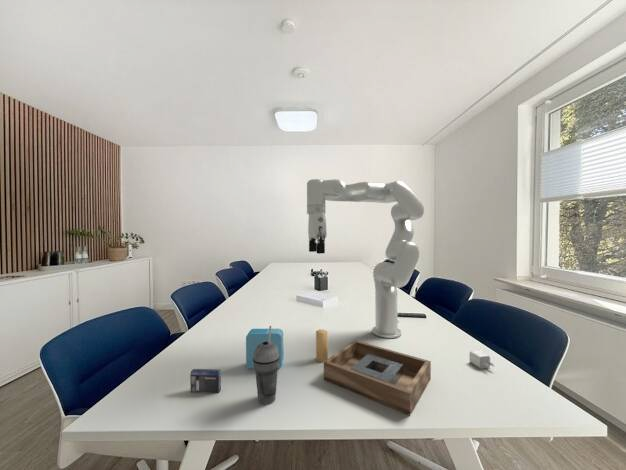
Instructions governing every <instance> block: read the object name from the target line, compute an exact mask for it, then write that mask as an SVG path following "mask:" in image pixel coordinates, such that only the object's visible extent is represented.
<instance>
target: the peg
mask: <svg viewBox="0 0 626 470" xmlns="http://www.w3.org/2000/svg"><path fill="white" fill-rule="evenodd" d="M315 346H316V347H315V355H316V356H315V357H316V358H315V360H316V361H317V362H319V363H324V362H325V361H326V360H327V359H329V358H328V330H326V329H318V330H316V331H315Z"/></svg>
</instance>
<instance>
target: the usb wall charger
mask: <svg viewBox="0 0 626 470" xmlns="http://www.w3.org/2000/svg"><path fill="white" fill-rule="evenodd" d="M469 362H470V364H473V365H474V366H476V367H477V368H479V369H481V370H482V369H489V368H490V367H493V368H495V364H493V363H492V362H491V357H490V355H488V354H486V353H484V352H482V351H480V350H478V349H476V350H470V351H469Z"/></svg>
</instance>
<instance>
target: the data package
mask: <svg viewBox="0 0 626 470" xmlns="http://www.w3.org/2000/svg"><path fill="white" fill-rule="evenodd" d="M268 336H269V328H252V329H250V330H249V331H248V333H247V334H246V336H245V354H246V355H245V361H246V362H245V364H246V367H247V368H248V369H249V370H255V367H254V361H253V356H254V351H255V349H256V348H257V346H258V345H259V344H261V343H262V342H266V341H268ZM270 342H272V343H274V344H275V345H276V346H277V348H278V351H279V355H280V358H279V364H278V370H279V369H280V368H282V366H283V362H284V357H285V355H284V349H285V348H284V331H283V329H281V328H271V335H270Z"/></svg>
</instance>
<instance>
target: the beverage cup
mask: <svg viewBox="0 0 626 470" xmlns="http://www.w3.org/2000/svg"><path fill="white" fill-rule="evenodd" d="M268 329H269V336H268V341H266V342H262V343H261V344H259V345H258V346H257V348H256V349H255V351H254V356H253V361H254V367H255V369H254V370H255V372H254V373H255V381H256V382H255V383H256V390H257V393H256V394H257V397H258V403H259V404H260V405H263V406H268V405H271V404H273V403H274V402H275V401H276V395H277V385H278V384H277V383H278V372H279V369H278V364H279V358H280V355H279V351H278V348H277V346H276V345H275V344H274V343H272V342H270V335H271V329H272V325H270V326H269V328H268Z"/></svg>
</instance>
